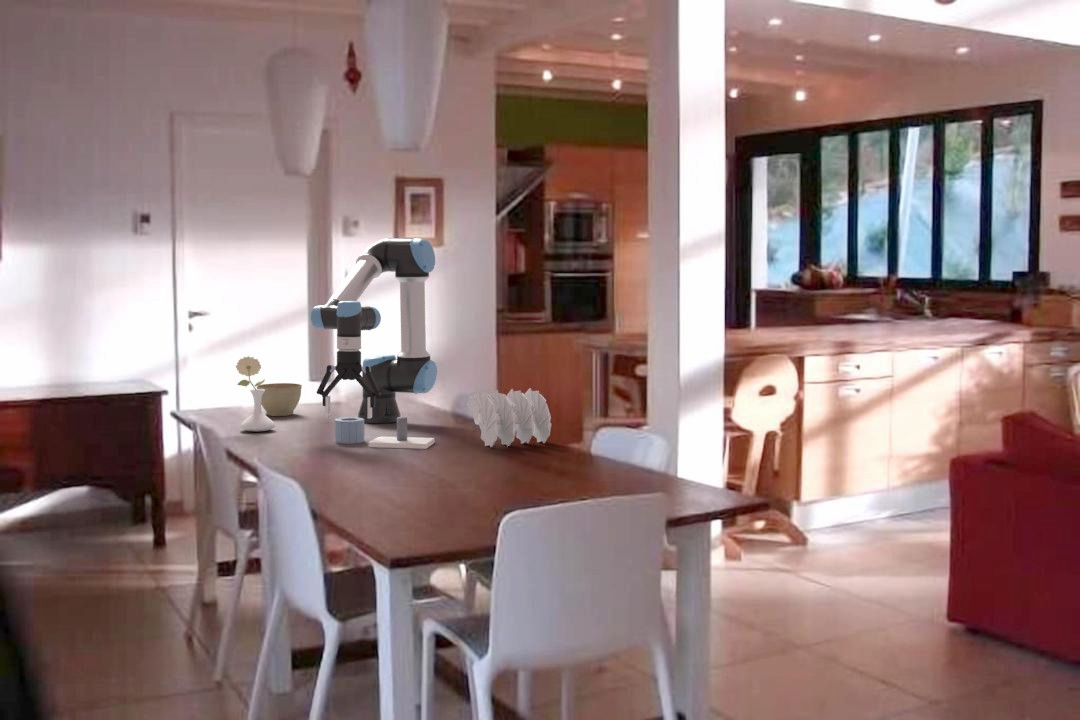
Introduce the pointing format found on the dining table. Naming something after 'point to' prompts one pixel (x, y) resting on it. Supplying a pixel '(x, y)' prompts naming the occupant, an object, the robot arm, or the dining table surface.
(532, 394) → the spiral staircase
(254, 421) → the flower in vase
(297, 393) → the planter bowl
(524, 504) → the dining table surface
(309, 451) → the dining table surface
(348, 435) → the hub ring
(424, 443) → the post stand
